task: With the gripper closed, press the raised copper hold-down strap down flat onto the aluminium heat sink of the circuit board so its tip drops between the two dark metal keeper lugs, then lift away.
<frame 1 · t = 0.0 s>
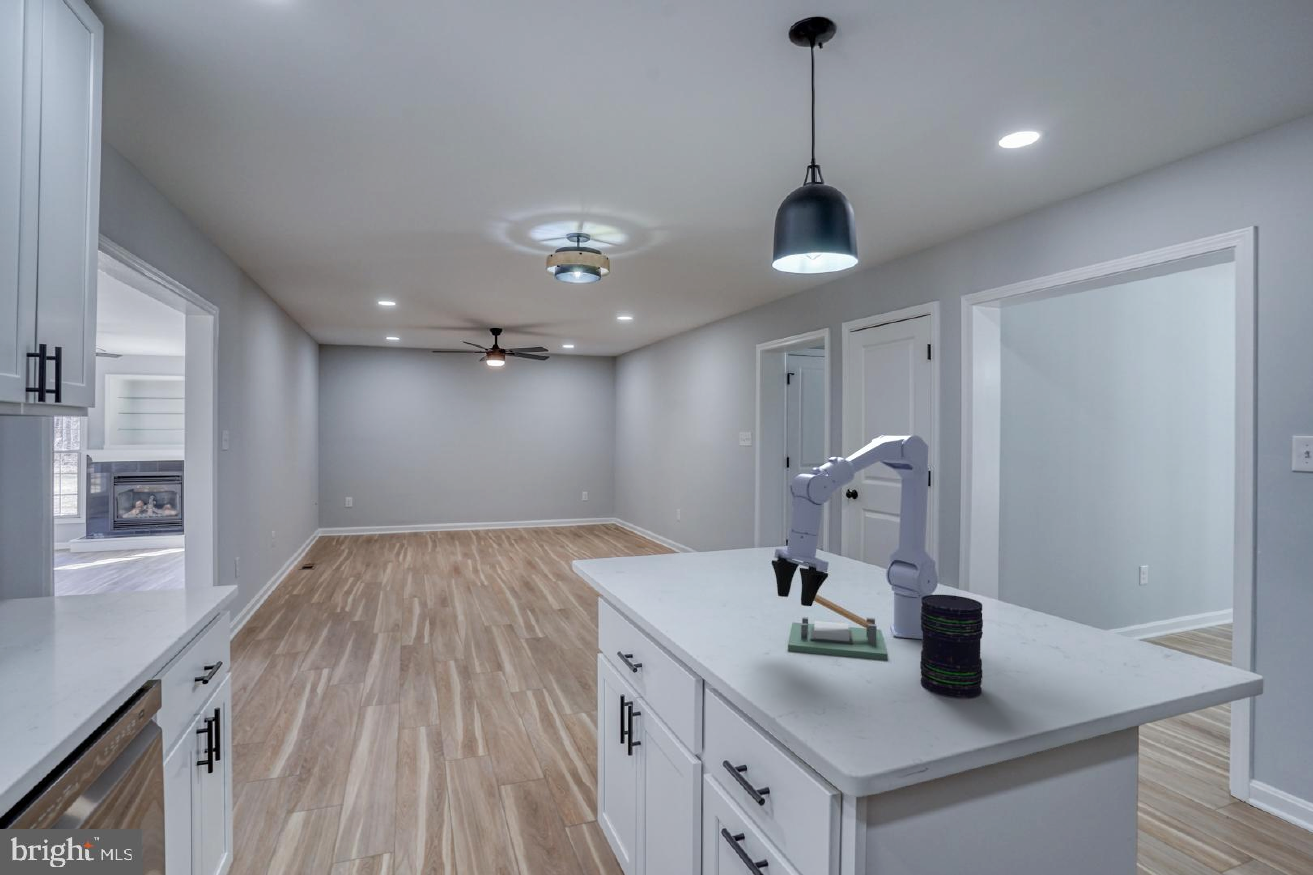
hand: (794, 600, 127), 11 cm above the counter, fingers open, 7 cm apart
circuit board: (836, 642, 134), on the counter
hold-down strap: (840, 612, 134), point 6 cm above the counter, hinge at 25.0°
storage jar: (950, 688, 111), on the counter
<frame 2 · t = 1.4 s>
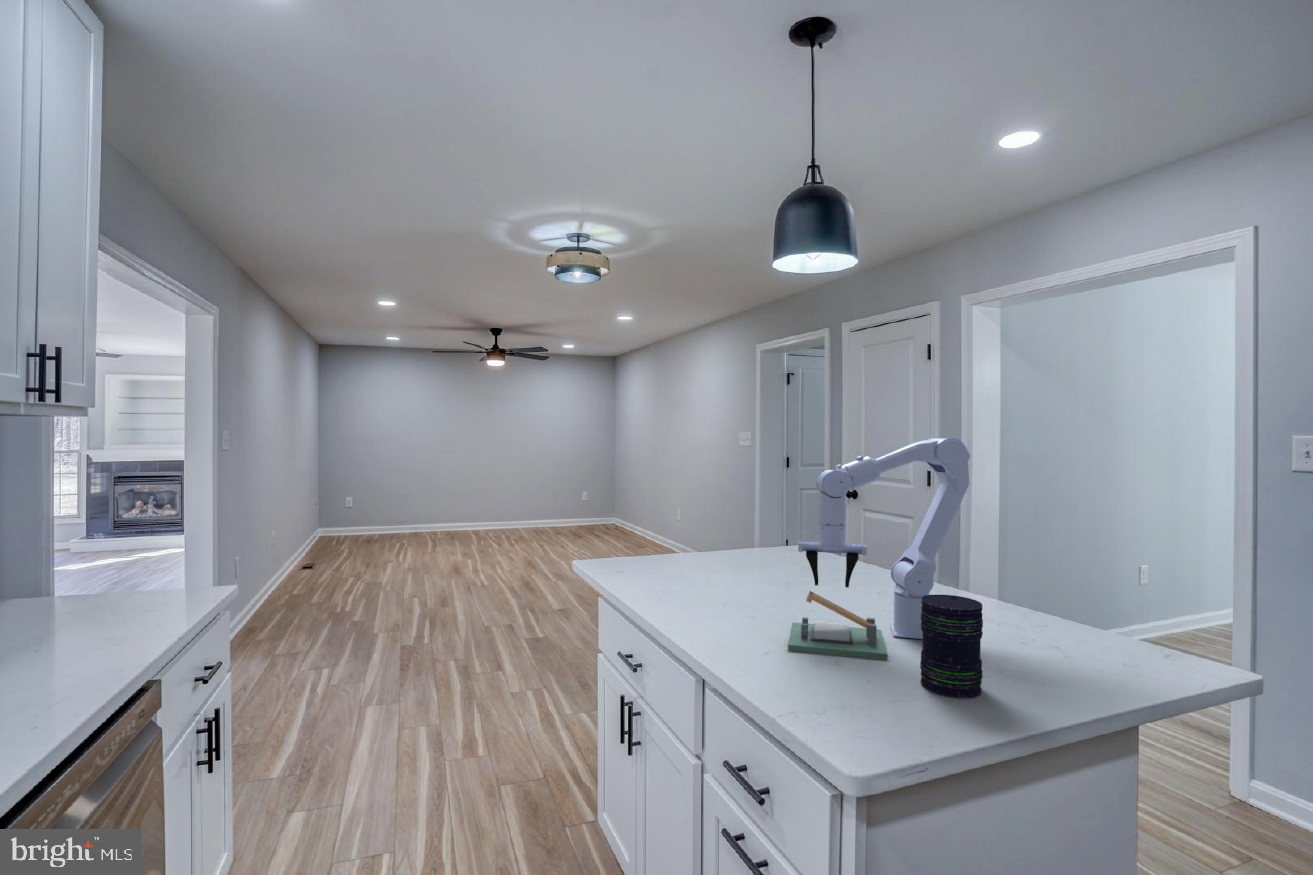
hand: (831, 585, 141), 10 cm above the counter, fingers open, 6 cm apart
nothing on the counter moved.
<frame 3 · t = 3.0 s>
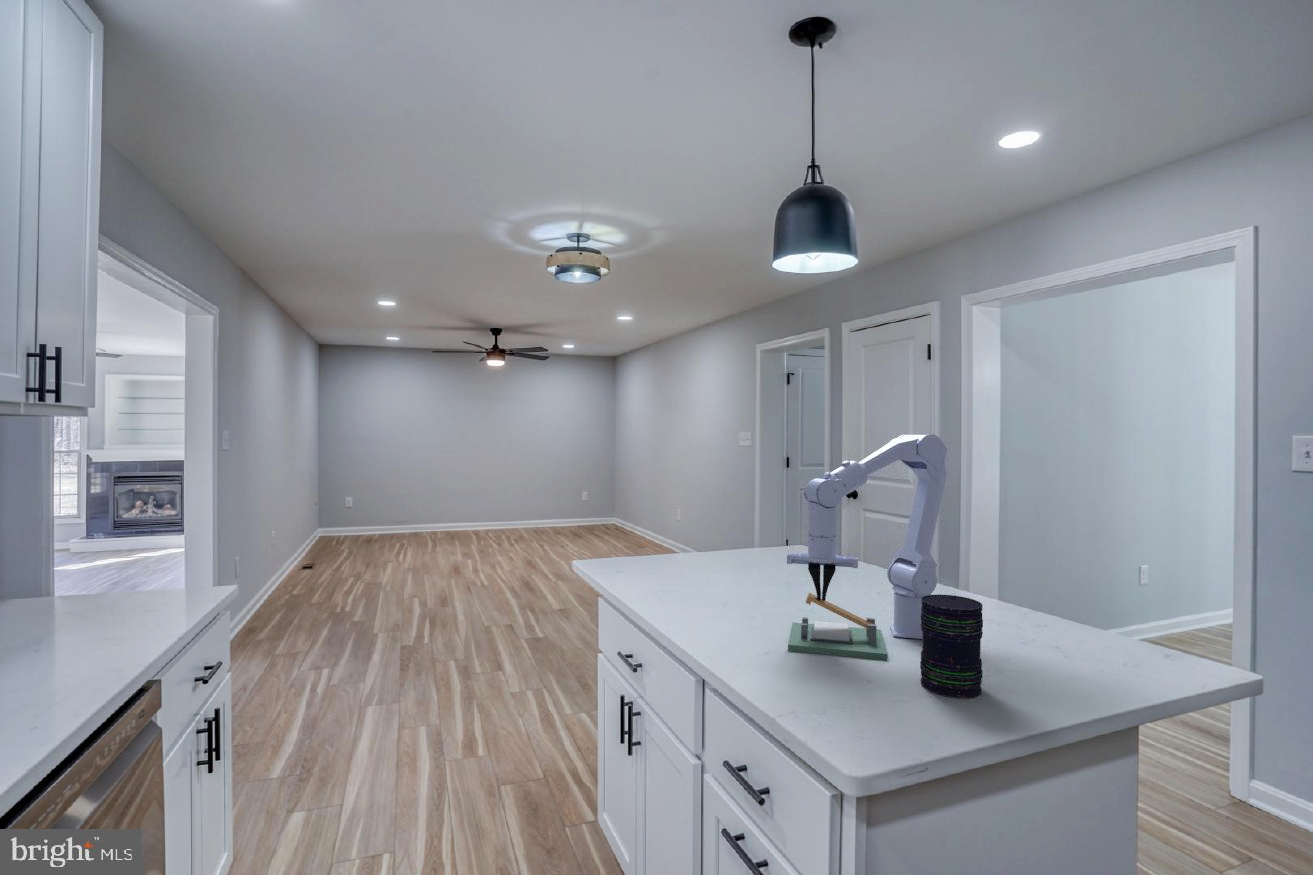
hand: (821, 599, 135), 9 cm above the counter, fingers closed
hold-down strap: (840, 613, 134), point 6 cm above the counter, hinge at 23.2°, touching gripper
everything else where it was.
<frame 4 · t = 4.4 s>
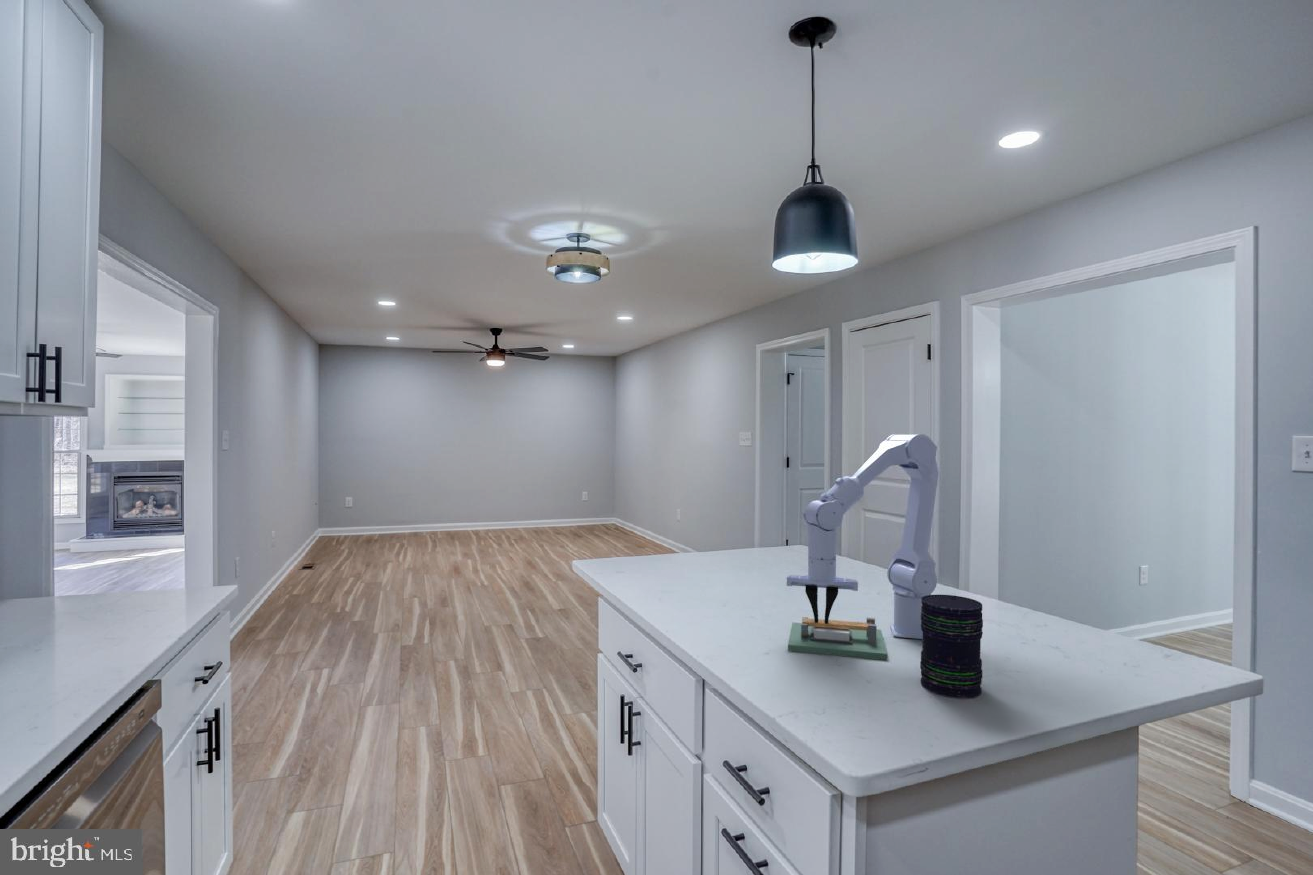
hand: (821, 621, 135), 4 cm above the counter, fingers closed on hold-down strap
hold-down strap: (837, 625, 134), point 4 cm above the counter, hinge at -0.5°, touching gripper
everything else where it was.
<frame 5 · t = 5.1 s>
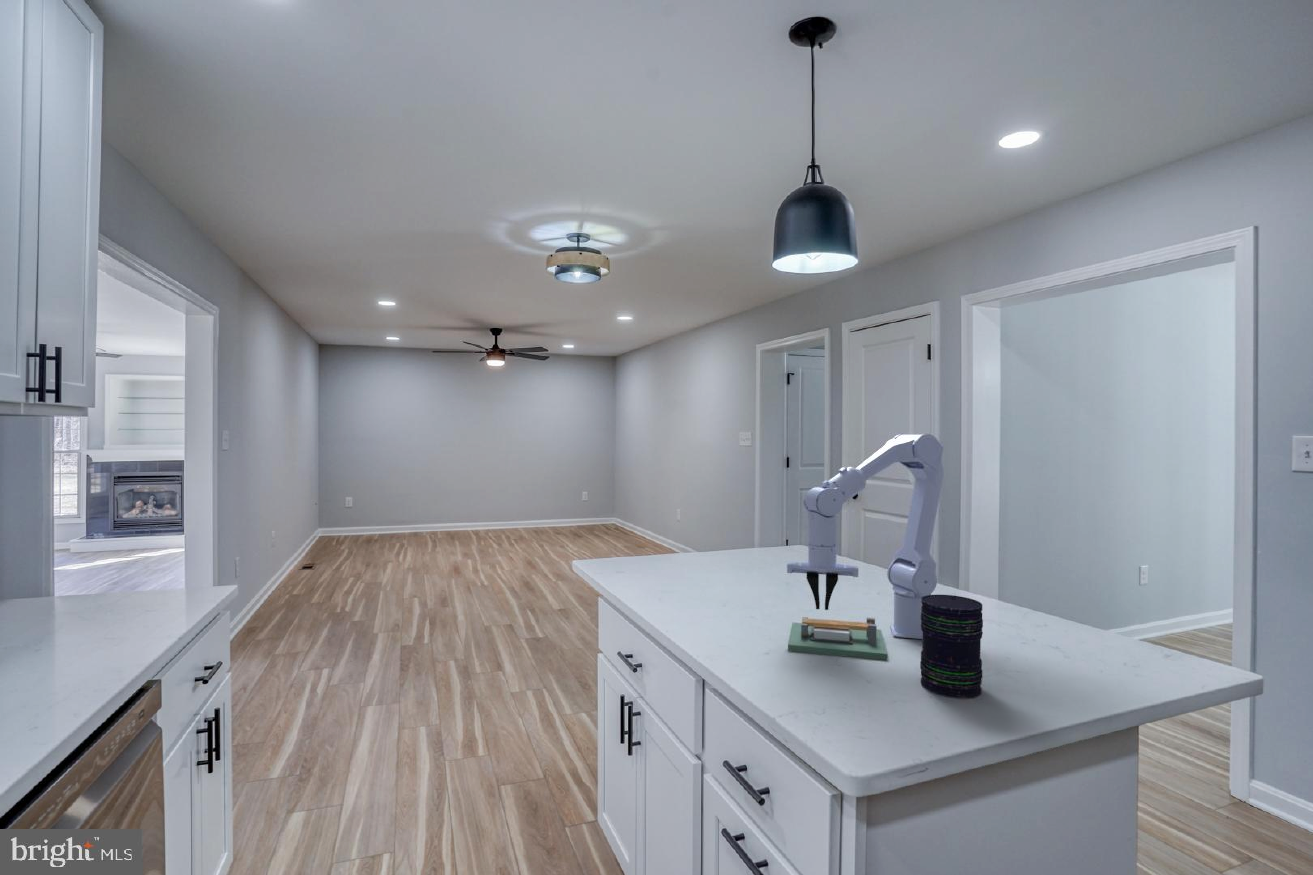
hand: (822, 608, 135), 7 cm above the counter, fingers closed
hold-down strap: (837, 625, 134), point 4 cm above the counter, hinge at -0.5°
everything else where it was.
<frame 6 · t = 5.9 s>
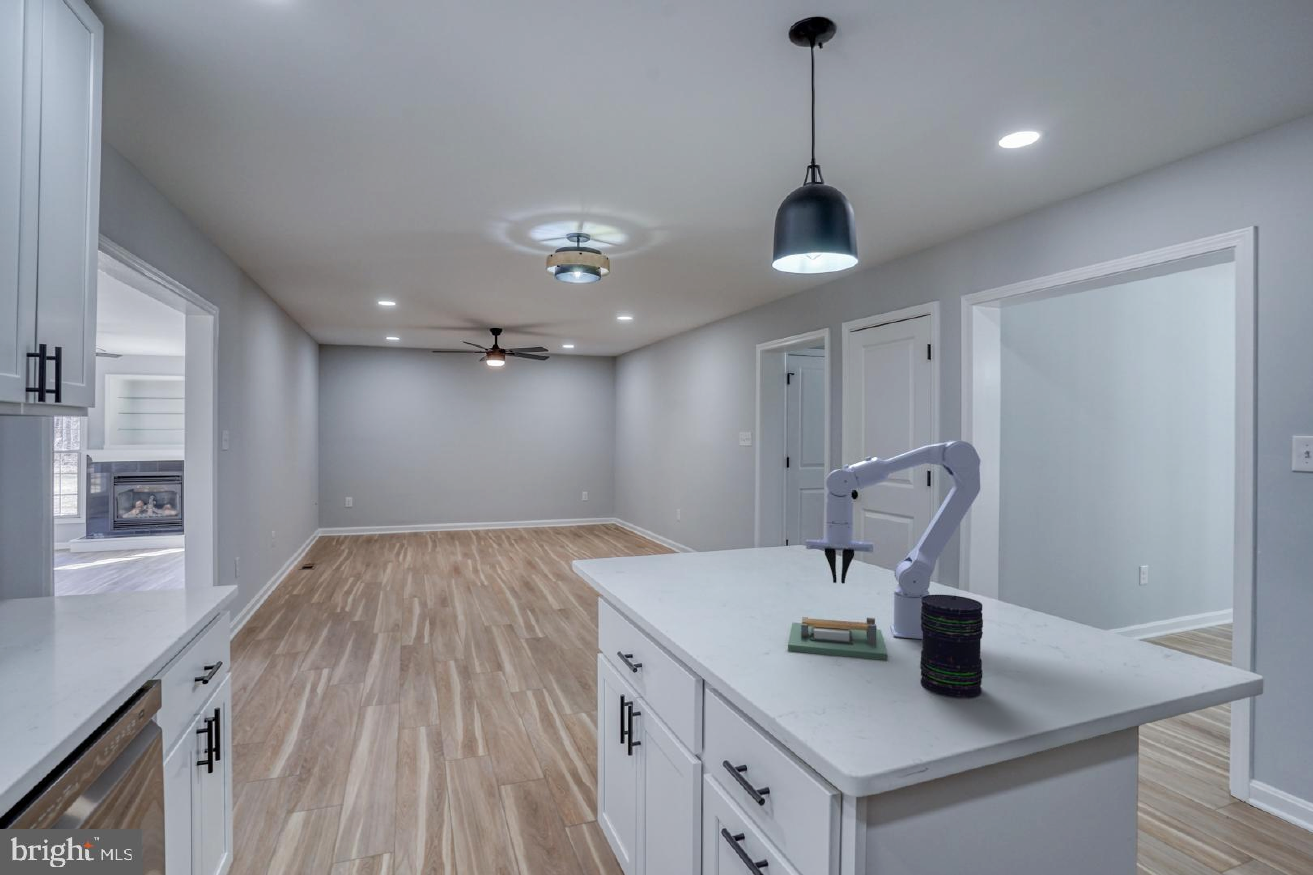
hand: (838, 582, 144), 10 cm above the counter, fingers closed
nothing on the counter moved.
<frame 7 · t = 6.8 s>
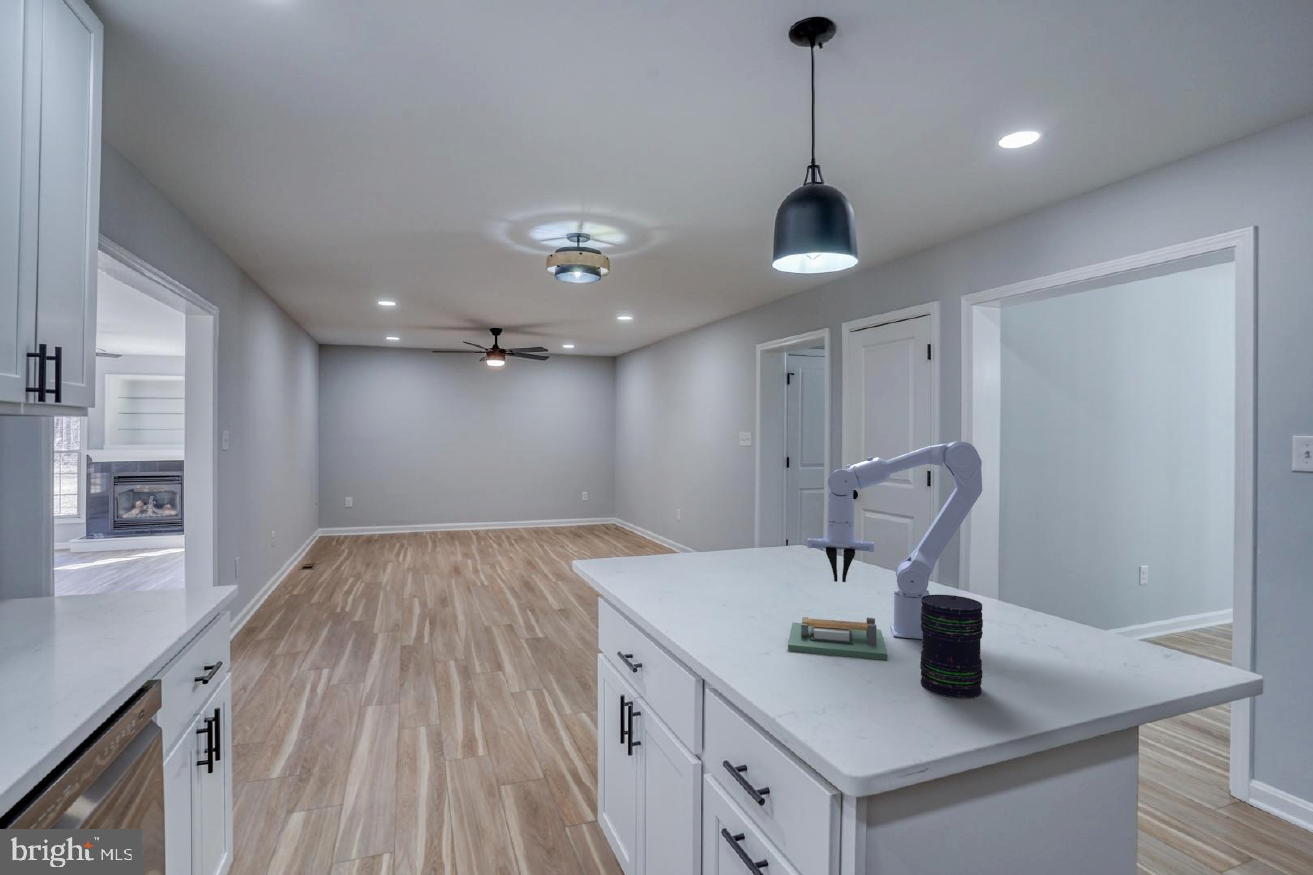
hand: (839, 581, 145), 10 cm above the counter, fingers closed
nothing on the counter moved.
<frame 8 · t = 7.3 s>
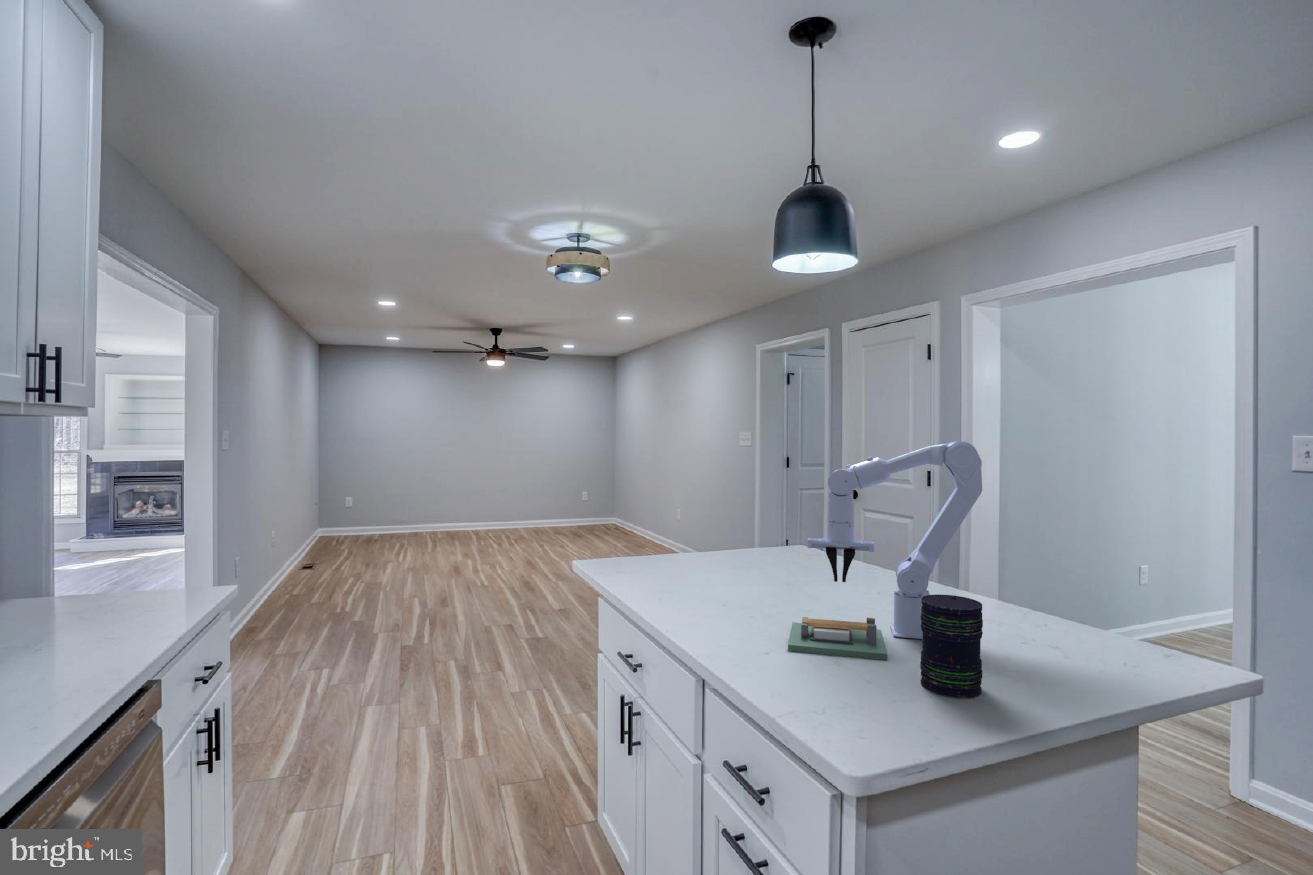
hand: (839, 581, 145), 10 cm above the counter, fingers closed
nothing on the counter moved.
at the end: hold-down strap at +0° (first picture: +25°); the gripper is holding nothing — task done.
